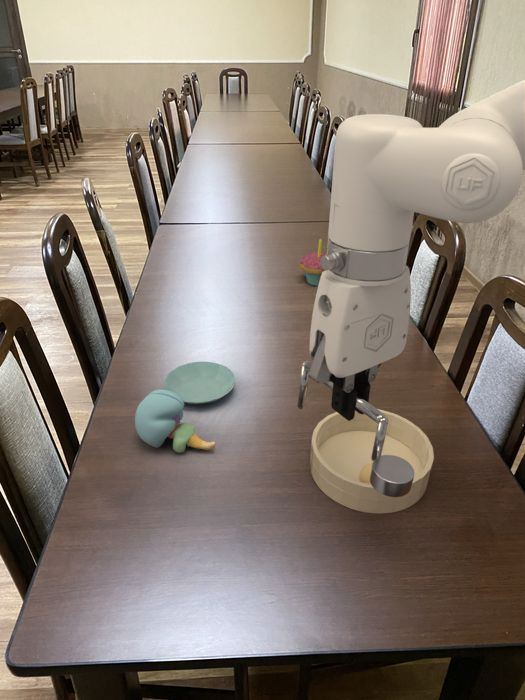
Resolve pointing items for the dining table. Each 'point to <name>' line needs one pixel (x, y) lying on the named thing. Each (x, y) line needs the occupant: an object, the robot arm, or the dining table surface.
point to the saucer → (200, 382)
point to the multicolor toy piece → (166, 422)
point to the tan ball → (365, 473)
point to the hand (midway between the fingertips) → (348, 410)
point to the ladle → (386, 470)
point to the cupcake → (313, 265)
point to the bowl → (367, 460)
